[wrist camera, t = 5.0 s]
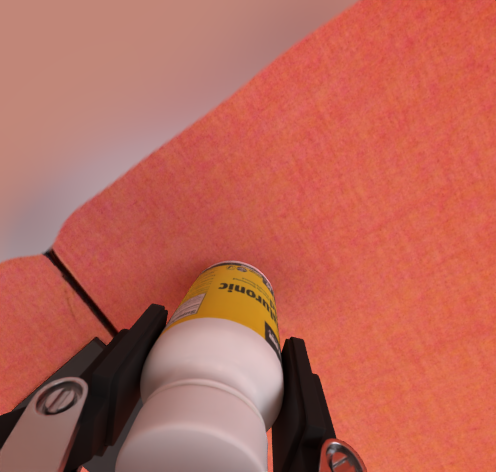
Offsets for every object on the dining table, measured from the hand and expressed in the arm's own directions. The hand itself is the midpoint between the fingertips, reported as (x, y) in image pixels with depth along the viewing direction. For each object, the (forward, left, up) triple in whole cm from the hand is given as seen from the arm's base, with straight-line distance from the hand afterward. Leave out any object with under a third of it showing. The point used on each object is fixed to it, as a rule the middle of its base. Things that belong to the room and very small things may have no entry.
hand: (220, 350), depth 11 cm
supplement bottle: (0, 0, -5) cm, 5 cm away
